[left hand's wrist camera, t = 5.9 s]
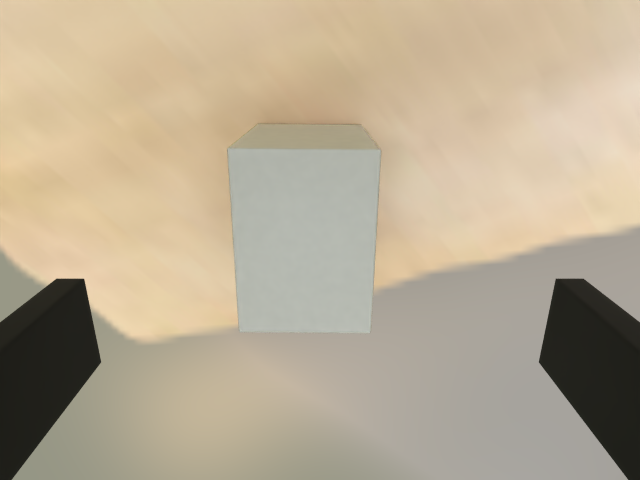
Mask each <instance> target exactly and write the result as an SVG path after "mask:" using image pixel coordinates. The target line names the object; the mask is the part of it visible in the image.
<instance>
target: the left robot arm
mask: <svg viewBox="0 0 640 480" xmlns="http://www.w3.org/2000/svg"><path fill="white" fill-rule="evenodd" d="M100 363H101V359H100V354H99V349H98V344H97V340H96V335H95V330H94V325H93V320H92V315H91V310H90V305H89V300H88V295H87V290H86V286H85V281H84V279H56V280H54V281H53V282H52V283H50V284H49V285H48V286H47V287H45V288H44V289H43V290H41V291H40V292H39V293H38V294H36V295H35V296H34V297H32V298H31V299H30V300H29V301H27V302H26V303H25V304H23V305H22V306H21V307H20V308H18V309H17V310H16V311H14V312H13V313H12V314H10V315H9V316H8V317H7V318H5V319H4V320H3V321H1V322H0V480H12V479H13V477H14V476H15V475H16V473H17V472H18V471H19V469H20V468H21V467H22V465H23V464H24V463H25V461H26V460H27V459H28V457H29V456H30V455H31V454H32V452H33V451H34V450H35V448H36V447H37V446H38V444H39V443H40V442H41V440H42V439H43V438H44V436H45V435H46V434H47V433H48V431H49V430H50V429H51V427H52V426H53V425H54V423H55V422H56V421H57V419H58V418H59V417H60V415H61V414H62V413H63V412H64V410H65V409H66V408H67V406H68V405H69V404H70V402H71V401H72V400H73V398H74V397H75V396H76V394H77V393H78V392H79V391H80V389H81V388H82V387H83V385H84V384H85V383H86V381H87V380H88V379H89V377H90V376H91V375H92V373H93V372H94V371H95V370H96V368H97V367H98V366H99V364H100ZM539 363H540V364H541V366H542V367H543V368H544V370H545V371H546V372H547V373H548V375H549V376H550V377H551V379H552V380H553V381H554V383H555V384H556V385H557V387H558V388H559V389H560V391H561V392H562V393H563V394H564V396H565V397H566V398H567V400H568V401H569V402H570V404H571V405H572V406H573V408H574V409H575V410H576V412H577V413H578V414H579V415H580V417H581V418H582V419H583V421H584V422H585V423H586V425H587V426H588V427H589V429H590V430H591V431H592V432H593V434H594V435H595V437H596V438H597V439H598V440H599V442H600V443H601V444H602V446H603V447H604V448H605V450H606V451H607V452H608V454H609V455H610V456H611V458H612V459H613V460H614V461H615V463H616V464H617V465H618V467H619V468H620V469H621V471H622V472H623V473H624V475H625V476H626V477H627V479H628V480H640V322H639V321H637V320H636V319H635V318H633V317H632V316H631V315H630V314H628V313H627V312H626V311H624V310H623V309H622V308H620V307H619V306H618V305H617V304H615V303H614V302H613V301H611V300H610V299H609V298H608V297H606V296H605V295H604V294H602V293H601V292H600V291H599V290H597V289H596V288H595V287H593V286H592V285H591V284H590V283H588V282H587V281H586V280H584V279H556V281H555V286H554V290H553V295H552V300H551V305H550V310H549V315H548V320H547V325H546V330H545V335H544V340H543V344H542V349H541V355H540V359H539Z"/></svg>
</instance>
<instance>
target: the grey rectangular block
mask: <svg viewBox="0 0 640 480" xmlns="http://www.w3.org/2000/svg"><path fill="white" fill-rule="evenodd" d="M227 153H228V169H229V184H230V200H231V215H232V231H233V246H234V262H235V278H236V293H237V309H238V324H239V332H277V333H370V332H371V322H372V304H373V286H374V269H375V251H376V234H377V216H378V198H379V181H380V163H381V149H380V148H379V147H378V145H377V144H376V143H375V142H374V140H373V139H372V138H371V136H370V135H369V134H368V133H367V131H366V130H365V129H364V127H363V126H362V125H354V124H257V125H256V126H255V127H253V128H252V129H251V130H250V131H248V132H247V133H246V134H245V135H243V136H242V137H241V138H240V139H238V140H237V141H236V142H235V143H234V144H232V145H231V146H230V147H229V148H228V149H227Z"/></svg>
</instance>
